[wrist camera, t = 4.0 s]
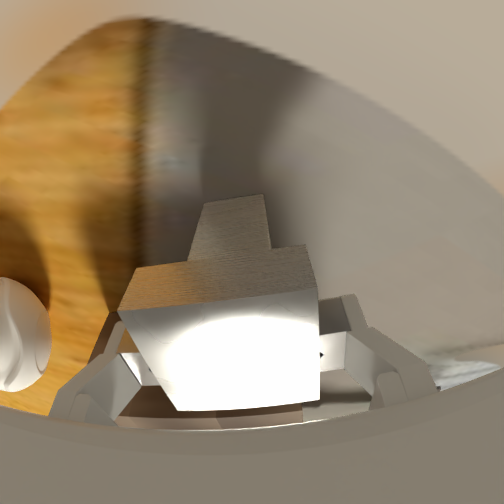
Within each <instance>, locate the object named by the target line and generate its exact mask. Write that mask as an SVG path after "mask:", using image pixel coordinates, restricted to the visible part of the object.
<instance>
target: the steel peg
mask: <svg viewBox="0 0 504 504" xmlns="http://www.w3.org/2000/svg"><path fill="white" fill-rule="evenodd" d="M117 312H118V314H119V316H120V318H121V320H122V322H123V323H124V325H125V327H126V329H127V331H128V332H129V334H130V336H131V338H132V339H133V341H134V343H135V345H136V346H137V348H138V350H139V351H140V353H141V355H142V356H143V358H144V360H145V361H146V363H147V365H148V366H149V368H150V369H151V371H152V373H153V374H154V376H155V377H156V379H157V380H158V382H159V384H160V385H161V387H162V388H163V390H164V391H165V393H166V394H167V396H168V397H169V399H170V400H171V402H172V403H173V404H174V406H175V407H176V409H177V410H178V411H197V410H224V409H241V408H254V407H265V406H275V405H284V404H292V403H299V402H307V401H314V400H320V356H319V312H318V288H317V284H316V280H315V277H314V273H313V270H312V266H311V262H310V259H309V255H308V252H307V248H306V245H305V244H304V245H297V246H290V247H283V248H276V249H272V247H271V240H270V233H269V227H268V220H267V214H266V208H265V201H264V195H263V194H257V195H251V196H244V197H238V198H231V199H225V200H219V201H213V202H207V203H204V206H203V209H202V212H201V216H200V219H199V222H198V226H197V229H196V232H195V236H194V239H193V242H192V246H191V249H190V253H189V256H188V260H187V261H183V262H176V263H169V264H162V265H155V266H148V267H141V268H136V270H135V272H134V275H133V277H132V279H131V281H130V283H129V285H128V287H127V290H126V292H125V294H124V296H123V298H122V301H121V303H120V305H119V307H118V310H117Z"/></svg>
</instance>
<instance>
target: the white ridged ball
mask: <svg viewBox="0 0 504 504" xmlns="http://www.w3.org/2000/svg"><path fill="white" fill-rule="evenodd" d="M51 345H52V336H51V328H50V319H49V315H48V312H47V310H46V308H45V307H44V305H43V304H42V303H41V301H40V300H39V299H38V298H37V296H36V295H35V294H34V293H33V292H32V291H31V290H30V289H28V288H27V287H26V286H24V285H23V284H21V283H19V282H17V281H15V280H12V279H9V278H6V277H0V390H3V391H9V392H15V391H20V390H22V389H25V388H27V387H29V386H30V385H31V384H33V383H34V382H35V381H36V380H38V379H39V378H40V377H41V376H42V375H43V374H44V372H45V370H46V368H47V364H48V360H49V356H50V352H51Z"/></svg>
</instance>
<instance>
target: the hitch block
mask: <svg viewBox="0 0 504 504" xmlns="http://www.w3.org/2000/svg"><path fill="white" fill-rule="evenodd" d="M118 321H122V320H121V318H120V316H119V314H118V312H115V313H109V315H108V317H107V319H106V321H105V323H104V326H103V328H102V330H101V333H100V335H99V337H98V340H97V342H96V344H95V347H94V349H93V352H92V354H91V356H90V359H89V361H88V364H89V363H90V362H91V361H92V360H94V359H95V358H96V357H97V356H98V355H99V354H103V353H104V350H105V348H106V345H107V343H108V340H109V338H110V336H111V333H112V331H113V328H114V326H115V324H116V323H117V322H118ZM88 364H87V365H88ZM114 422H115V423H116V424H117V425H118V426H119V427H130V428H144V429H165V430H221V429H242V428H256V427H268V426H278V425H287V424H295V423H303V412H302V403H301V402H299V403H292V404H284V405H275V406H265V407H254V408H241V409H224V410H197V411H178V410H177V409H176V407H175V406H174V404H173V403H172V402H171V400H170V399H169V397H168V396H167V394H166V393H165V391H164V390H163V388H162V387H161V385H151V386H141V388H140V389H139V391H138V392H137V393H136V394H135V395H134V397H133V398H132V399H131V400H130V402H129V403H128V404H127V405H126V407H125V408H124V409H123V410H122V412H121V413H120V414H119V415H118V416H117V418H116V419H115V420H114Z"/></svg>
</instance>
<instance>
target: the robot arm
mask: <svg viewBox="0 0 504 504" xmlns="http://www.w3.org/2000/svg"><path fill="white" fill-rule="evenodd" d="M318 312H319V356H320V372H322V371H329V370H336V369H343V368H344V370H345V371H346V372H347V373H348V374H349V375H350V376H351V377H352V378H353V379H355V380H356V381H357V382H358V383H359V384H360V385H361V386H362V387H363V388H364V389H365V390H366V391H367V392H368V393H369V394H370V395H371V396H372V400H371V403H370V407H369V410H368V411H366V412H361V413H356V414H351V415H346V416H341V417H335V418H329V419H323V420H317V421H310V422H303V423H295V424H287V425H278V426H268V427H256V428H242V429H221V430H165V429H144V428H130V427H119V426H118V425H117V424H116V423H115V422H114V420H115V419H116V418H117V416H118V415H119V414H120V413H121V412H122V410H123V409H124V408H125V407H126V405H127V404H128V403H129V402H130V400H131V399H132V398H133V397H134V395H135V394H136V393H137V392H138V391H139V389H140V388H141V386H151V385H160V384H159V382H158V380H157V379H156V377H155V376H154V374H153V373H152V371H151V369H150V368H149V366H148V365H147V363H146V361H145V360H144V358H143V356H142V355H141V353H140V351H139V350H138V348H137V346H136V345H135V343H134V341H133V339H132V338H131V336H130V334H129V332H128V331H127V329H126V327H125V325H124V323H123V322H122V321H118V322H117V323H116V324H115V326H114V328H113V331H112V333H111V336H110V338H109V340H108V343H107V345H106V348H105V350H104V353H103V354H99V355H98V356H97V357H96V358H95V359H94V360H92V361H91V362H90V363H89V364H88V365H87V366H86V367H84V368H83V369H82V370H81V371H80V372H79V373H78V374H76V375H75V376H74V377H73V378H72V379H71V380H70V381H68V382H67V383H66V384H65V385H64V386H63V387H62V388H60V389H59V390H58V392H57V395H56V397H55V400H54V402H53V405H52V408H51V410H50V413H49V415H48V416H44V415H39V414H35V413H30V412H26V411H22V410H17V409H13V408H10V407H6V406H2V405H0V504H504V368H501V369H499V370H497V371H494V372H492V373H489V374H487V375H484V376H482V377H479V378H477V379H474V380H472V381H469V382H466V383H463V384H461V385H458V386H455V387H452V388H449V389H446V390H443V391H440V392H438V391H437V388H436V386H435V383H434V381H433V379H432V376H431V374H430V372H429V369H428V367H427V365H426V362H425V361H423V360H422V359H420V358H419V357H417V356H416V355H414V354H413V353H411V352H410V351H408V350H407V349H405V348H404V347H402V346H401V345H399V344H398V343H396V342H394V341H393V340H391V339H390V338H388V337H387V336H385V335H384V334H382V333H381V332H379V331H378V330H376V329H375V328H373V327H370V328H368V325H367V323H366V320H365V317H364V315H363V312H362V310H361V307H360V305H359V302H358V300H357V297H356V295H355V294H350V295H344V296H340V297H334V298H328V299H322V300H318Z"/></svg>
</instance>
